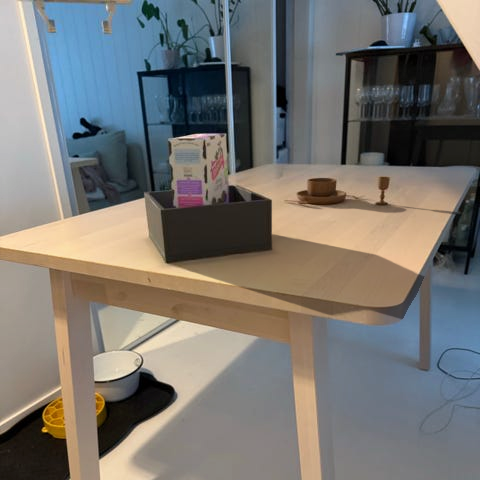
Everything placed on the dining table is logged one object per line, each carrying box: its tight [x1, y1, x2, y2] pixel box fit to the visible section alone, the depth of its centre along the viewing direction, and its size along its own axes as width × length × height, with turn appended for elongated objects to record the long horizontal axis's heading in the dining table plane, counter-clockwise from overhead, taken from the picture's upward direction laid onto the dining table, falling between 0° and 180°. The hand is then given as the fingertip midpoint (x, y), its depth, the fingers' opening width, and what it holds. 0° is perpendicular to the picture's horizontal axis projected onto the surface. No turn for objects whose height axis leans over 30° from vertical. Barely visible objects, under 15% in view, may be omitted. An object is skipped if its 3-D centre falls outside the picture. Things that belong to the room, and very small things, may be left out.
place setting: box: [283, 176, 391, 206], centre depth 108 cm, size 18×20×6 cm
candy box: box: [167, 133, 229, 208], centre depth 75 cm, size 14×6×16 cm, turn 168°
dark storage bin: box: [143, 184, 273, 264], centre depth 78 cm, size 17×17×8 cm
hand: (80, 33), depth 81 cm, fingers open, 8 cm apart
